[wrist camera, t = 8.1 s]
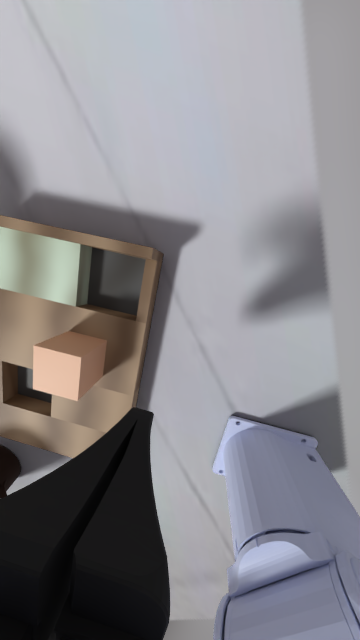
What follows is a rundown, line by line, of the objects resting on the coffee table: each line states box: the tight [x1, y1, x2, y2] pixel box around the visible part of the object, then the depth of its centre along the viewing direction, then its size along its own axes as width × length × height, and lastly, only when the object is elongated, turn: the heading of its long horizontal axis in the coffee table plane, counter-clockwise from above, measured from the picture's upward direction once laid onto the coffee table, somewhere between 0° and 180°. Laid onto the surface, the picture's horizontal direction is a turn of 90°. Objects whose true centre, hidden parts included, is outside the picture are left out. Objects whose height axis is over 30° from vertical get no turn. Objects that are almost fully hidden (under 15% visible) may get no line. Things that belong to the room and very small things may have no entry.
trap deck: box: [0, 215, 163, 458], centre depth 19 cm, size 16×25×4 cm, turn 168°
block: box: [33, 331, 107, 401], centre depth 17 cm, size 4×4×4 cm
